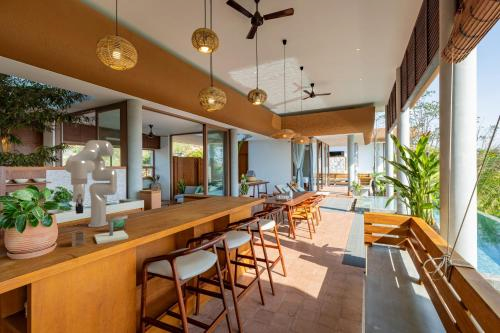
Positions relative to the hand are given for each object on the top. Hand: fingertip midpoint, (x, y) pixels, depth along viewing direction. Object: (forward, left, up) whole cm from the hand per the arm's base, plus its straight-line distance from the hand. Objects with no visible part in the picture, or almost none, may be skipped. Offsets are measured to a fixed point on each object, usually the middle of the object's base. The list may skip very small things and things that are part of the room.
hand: (79, 212), depth 131 cm
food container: (-17, +21, -18) cm, 33 cm away
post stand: (-2, +16, -18) cm, 24 cm away
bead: (0, 0, -18) cm, 18 cm away
